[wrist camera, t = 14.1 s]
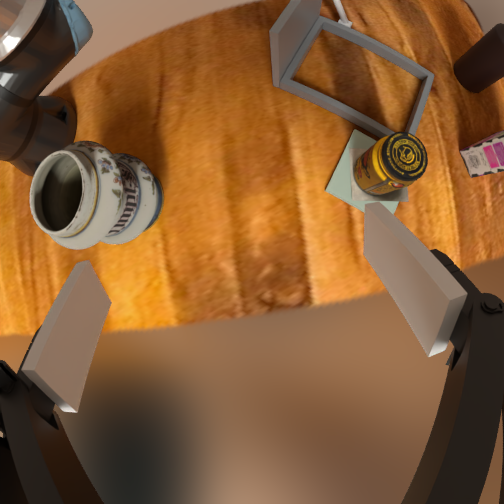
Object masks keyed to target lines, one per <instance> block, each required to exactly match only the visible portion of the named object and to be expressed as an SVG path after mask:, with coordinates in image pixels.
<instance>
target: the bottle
mask: <svg viewBox="0 0 504 504" xmlns="http://www.w3.org/2000/svg"><path fill="white" fill-rule="evenodd" d="M454 71H455V75H456V77H457V79H458V80H459V82H460V83H461V84H462V85H463V86H464V87H465V88H466V89H467V90H469V91H470V92H473V93H479V92H481V91H482V90H484V89H485V88H487V87H488V86H490V85H492V84H493V83H495V82H496V81H498V80H499V79H501V78H502V77H504V24H501V23H500V24H497V25H496V26H495V27H493V28H492V29H491V30H490V31H489V32H488V33H487V34H486V35H485V36H483V37H482V38H481V39H480V40H479V41H478V42H477V43H476V44H475V45H474V46H473V47H471V48H470V49H469V50H468V51H467V52H466V53H465V54H464V55H463V56H462V57H460V58H459V59H458V60H457V61H456V63H455V64H454Z"/></svg>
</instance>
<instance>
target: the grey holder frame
mask: <svg viewBox="0 0 504 504" xmlns="http://www.w3.org/2000/svg"><path fill="white" fill-rule="evenodd" d="M321 2H322V0H291V1H290V3H289V4H288V5H287V7H286V8H285V9H284V11H283V12H282V14H281V15H280V16H279V18H278V19H277V21H276V22H275V23H274V25H273V26H272V28H271V29H270V31H269V34H270V47H271V62H272V78H273V86H275V87H278V88H280V89H283V90H285V91H287V92H290V93H292V94H294V95H297V96H299V97H301V98H303V99H306V100H308V101H310V102H312V103H314V104H316V105H319V106H321V107H323V108H325V109H327V110H329V111H331V112H333V113H335V114H337V115H339V116H341V117H343V118H345V119H347V120H349V121H350V122H352V123H354V124H356V125H358V126H360V127H362V128H363V129H365V130H367V131H369V132H371V133H372V134H374V135H376V136H377V137H379V138H383V137H385V136H389V135H392V134H394V133H395V132H393V131H391V130H390V129H388V128H386V127H385V126H383V125H381V124H379V123H378V122H376V121H374V120H372V119H371V118H369V117H367V116H365V115H363V114H362V113H360V112H358V111H356V110H354V109H352V108H350V107H348V106H347V105H345V104H343V103H341V102H339V101H337V100H335V99H333V98H330V97H328V96H326V95H324V94H322V93H320V92H318V91H316V90H313V89H311V88H309V87H307V86H304V85H302V84H300V83H297V82H295V81H293V78H294V76H295V75H296V73H297V71H298V69H299V68H300V66H301V64H302V62H303V61H304V59H305V57H306V55H307V54H308V52H309V50H310V49H311V47H312V45H313V43H314V42H315V40H316V38H317V37H318V35H319V33H320V32H321V30H322V29H323V30H326V31H328V32H331V33H333V34H335V35H338V36H340V37H342V38H345V39H347V40H349V41H351V42H353V43H355V44H358V45H360V46H362V47H364V48H366V49H368V50H370V51H372V52H374V53H376V54H377V55H379V56H381V57H383V58H385V59H387V60H389V61H390V62H392V63H394V64H396V65H397V66H399V67H401V68H402V69H404V70H406V71H407V72H409V73H411V74H412V75H414V76H416V77H417V78H419V79H420V80H422V81H423V82H422V85H421V88H420V91H419V94H418V97H417V99H416V102H415V105H414V108H413V111H412V114H411V116H410V119H409V122H408V124H407V127H406V130H405V132H407V133H411V134H412V135H414V136H415V133H416V130H417V128H418V125H419V122H420V119H421V116H422V113H423V110H424V107H425V104H426V101H427V98H428V95H429V92H430V89H431V85H432V82H433V79H434V74H432V73H431V72H429V71H428V70H426V69H425V68H423V67H422V66H420V65H419V64H417V63H415V62H414V61H412V60H410V59H409V58H407V57H405V56H404V55H402V54H400V53H398V52H397V51H395V50H393V49H391V48H389V47H388V46H386V45H384V44H382V43H380V42H378V41H376V40H374V39H372V38H370V37H368V36H366V35H364V34H362V33H360V32H358V31H356V30H353V29H351V26H352V23H353V22H350V21H348V19H347V17H346V14H345V12H344V9H343V7H342V4H341V2H340V0H333V2H334V4H335V6H336V9H337V11H338V13H339V16H340V19H339V21H338V23H337V22H335V21H333V20H330V19H328V18H325V17H322V16H319V14H320V8H321Z"/></svg>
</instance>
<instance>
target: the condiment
mask: <svg viewBox="0 0 504 504" xmlns="http://www.w3.org/2000/svg"><path fill="white" fill-rule="evenodd" d="M349 157H350V173H351V188H352V201H402V202H408V191H407V186H409V185H411V184H412V183H413V182H414V181H415V180H417V179H418V178H420V177H421V176H422V175H423V173H424V172H425V169H426V167H427V164H428V159H427V152H426V149H425V147H424V145H423V144H422V142H421V141H420V140H419V139H418V138H417V137H415V136H414V135H412V134H411V133H407V132H396V133H394V134H392V135H389V136H385V137H383V138H381V139H380V140H378V141H377V142H376V143H375V144H374V145H372V146H371V147H370V148H369V149H360V148H349Z"/></svg>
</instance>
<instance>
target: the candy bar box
mask: <svg viewBox="0 0 504 504" xmlns="http://www.w3.org/2000/svg"><path fill="white" fill-rule="evenodd" d="M460 153H461V156H462V158H463V160H464V162H465V165H466V167H467V170H468V172H469V175H470V177H471V178H473V177H477V176H482V175H487V174H491V173H497V172H502V171H504V130H502V131H500V132H497V133H495V134H493V135H491V136H488V137H486V138H484V139H482V140H480V141H478V142H476V143H474V144H473V145H470V146H468V147H466V148H464V149H462V150H460Z"/></svg>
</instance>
